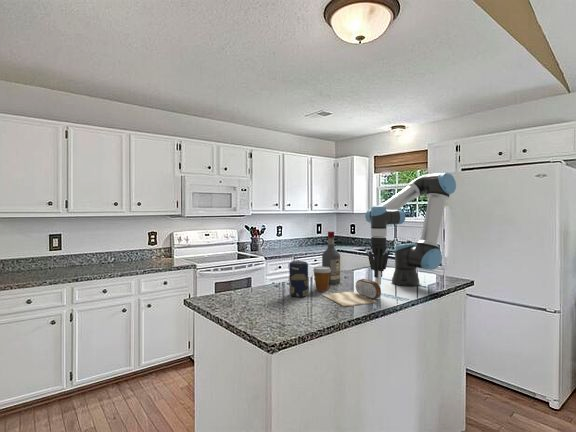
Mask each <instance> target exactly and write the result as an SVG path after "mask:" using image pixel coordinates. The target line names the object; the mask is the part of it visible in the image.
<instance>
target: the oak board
mask: <svg viewBox="0 0 576 432" xmlns="http://www.w3.org/2000/svg"><path fill="white" fill-rule="evenodd" d="M322 296H323V297H325V298H326V299H328V300H330V301H332V302H334V303H336V304H338V305H340V306H342V307H343V308H347V307H354V306H355V307H356V306H363V305H370V304H371V305H372V304H377V301H376V300H374V299H370V298H367V297H364V296H362V295H360V294H359V293H358V292H357V293H356V292H354V291H343V292H336V293H325V294H322Z"/></svg>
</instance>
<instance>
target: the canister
mask: <svg viewBox="0 0 576 432" xmlns="http://www.w3.org/2000/svg"><path fill="white" fill-rule="evenodd" d="M308 263H309V262H307V261H304V260H303V261H302V260H299V259H298V260H295V261H290V262H289V271H288V274H289V284H288V285H289V288H288V289H289V295H290V296H292V297H298V298H299V297H306V296H308V295H309V264H308Z"/></svg>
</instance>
